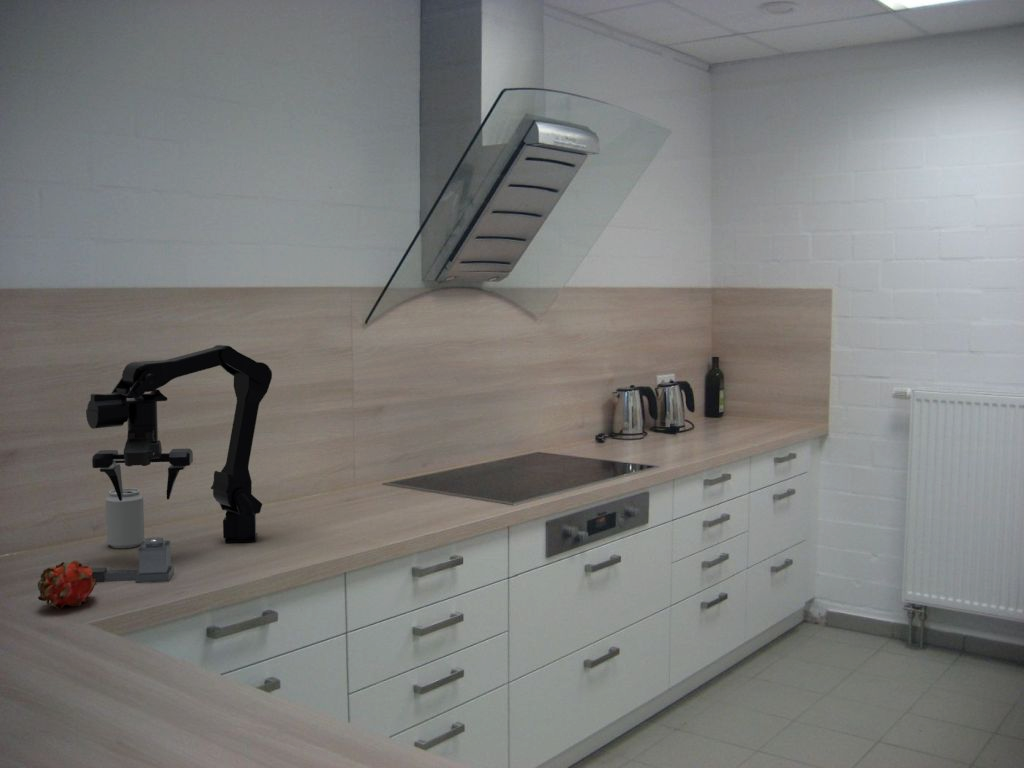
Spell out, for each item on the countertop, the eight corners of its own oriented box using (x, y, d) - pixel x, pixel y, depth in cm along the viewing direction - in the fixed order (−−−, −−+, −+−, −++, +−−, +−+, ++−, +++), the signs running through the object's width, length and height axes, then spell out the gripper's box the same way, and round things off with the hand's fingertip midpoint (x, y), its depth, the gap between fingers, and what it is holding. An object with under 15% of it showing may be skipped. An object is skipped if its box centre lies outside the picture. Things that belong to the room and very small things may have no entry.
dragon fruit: (36, 625, 170) (87, 614, 181) (71, 599, 168) (120, 589, 179) (16, 581, 172) (67, 572, 183) (50, 555, 170) (100, 548, 181)
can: (151, 542, 219) (150, 487, 218) (130, 550, 212) (128, 494, 211) (122, 539, 221) (120, 485, 220) (99, 547, 214) (97, 492, 213)
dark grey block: (170, 565, 196) (169, 535, 195) (166, 573, 191) (165, 542, 190) (143, 566, 195) (142, 536, 194) (138, 574, 190) (138, 543, 189)
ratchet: (173, 572, 196) (173, 550, 196) (168, 581, 190) (168, 558, 190) (65, 577, 193) (64, 554, 192) (56, 586, 187) (55, 562, 186)
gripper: (84, 430, 195) (87, 509, 196) (185, 428, 198) (187, 506, 199) (97, 423, 205) (99, 498, 207) (192, 421, 209) (194, 495, 210)
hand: (144, 499), depth 206 cm, fingers open, 9 cm apart
